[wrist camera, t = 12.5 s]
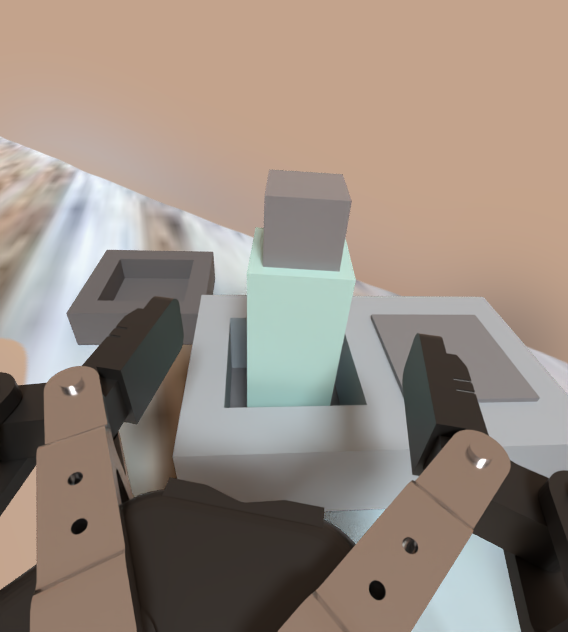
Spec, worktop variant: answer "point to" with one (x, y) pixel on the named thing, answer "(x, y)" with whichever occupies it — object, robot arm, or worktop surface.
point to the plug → (298, 290)
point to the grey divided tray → (357, 405)
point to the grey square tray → (140, 289)
